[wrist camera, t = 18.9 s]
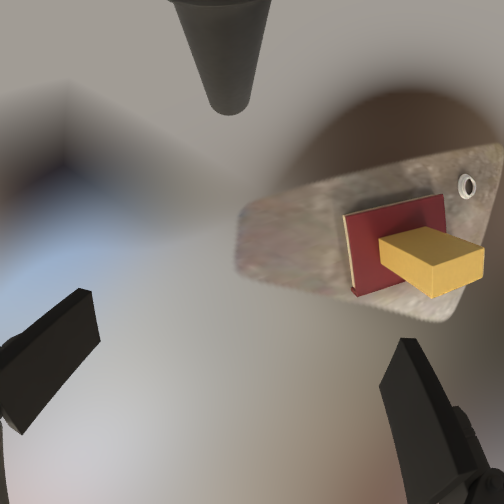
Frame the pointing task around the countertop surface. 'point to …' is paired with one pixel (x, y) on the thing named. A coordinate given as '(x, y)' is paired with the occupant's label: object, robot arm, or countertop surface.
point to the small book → (432, 260)
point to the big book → (381, 225)
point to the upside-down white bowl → (462, 186)
